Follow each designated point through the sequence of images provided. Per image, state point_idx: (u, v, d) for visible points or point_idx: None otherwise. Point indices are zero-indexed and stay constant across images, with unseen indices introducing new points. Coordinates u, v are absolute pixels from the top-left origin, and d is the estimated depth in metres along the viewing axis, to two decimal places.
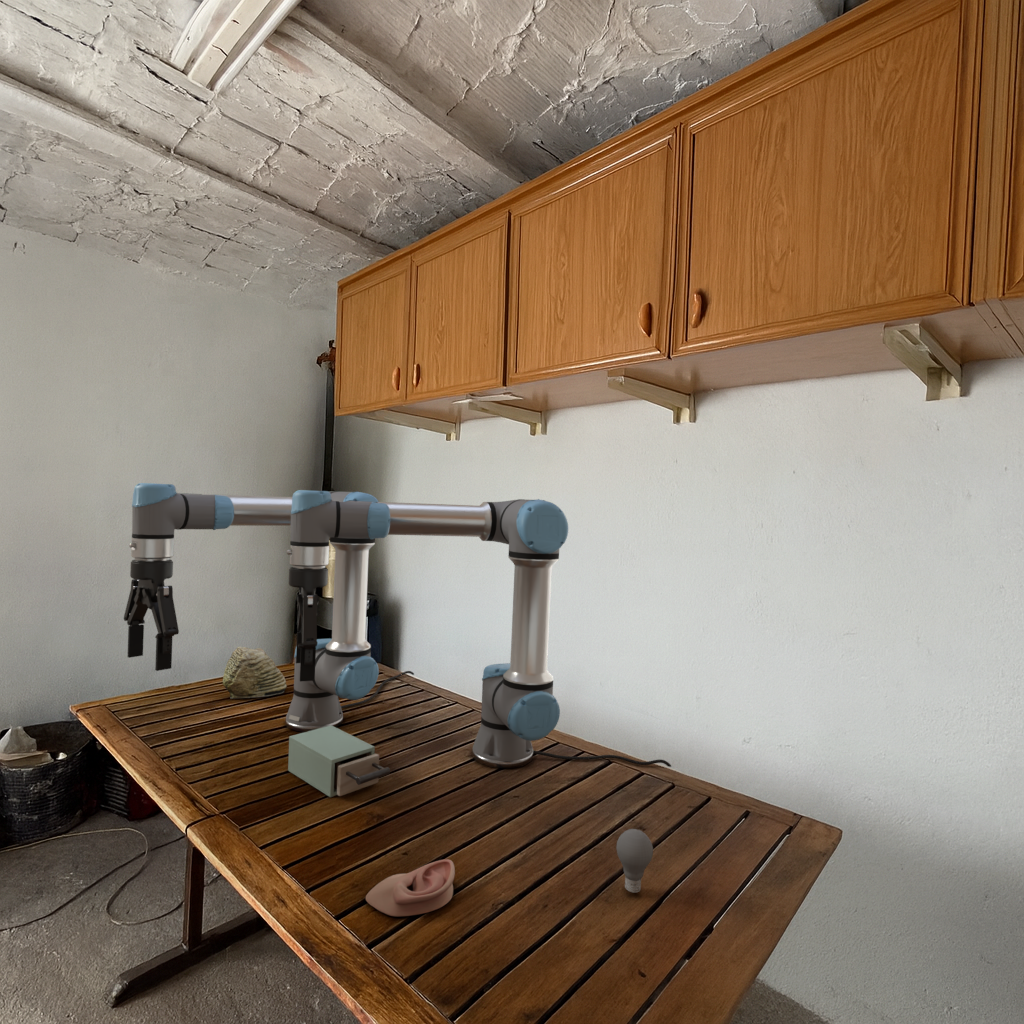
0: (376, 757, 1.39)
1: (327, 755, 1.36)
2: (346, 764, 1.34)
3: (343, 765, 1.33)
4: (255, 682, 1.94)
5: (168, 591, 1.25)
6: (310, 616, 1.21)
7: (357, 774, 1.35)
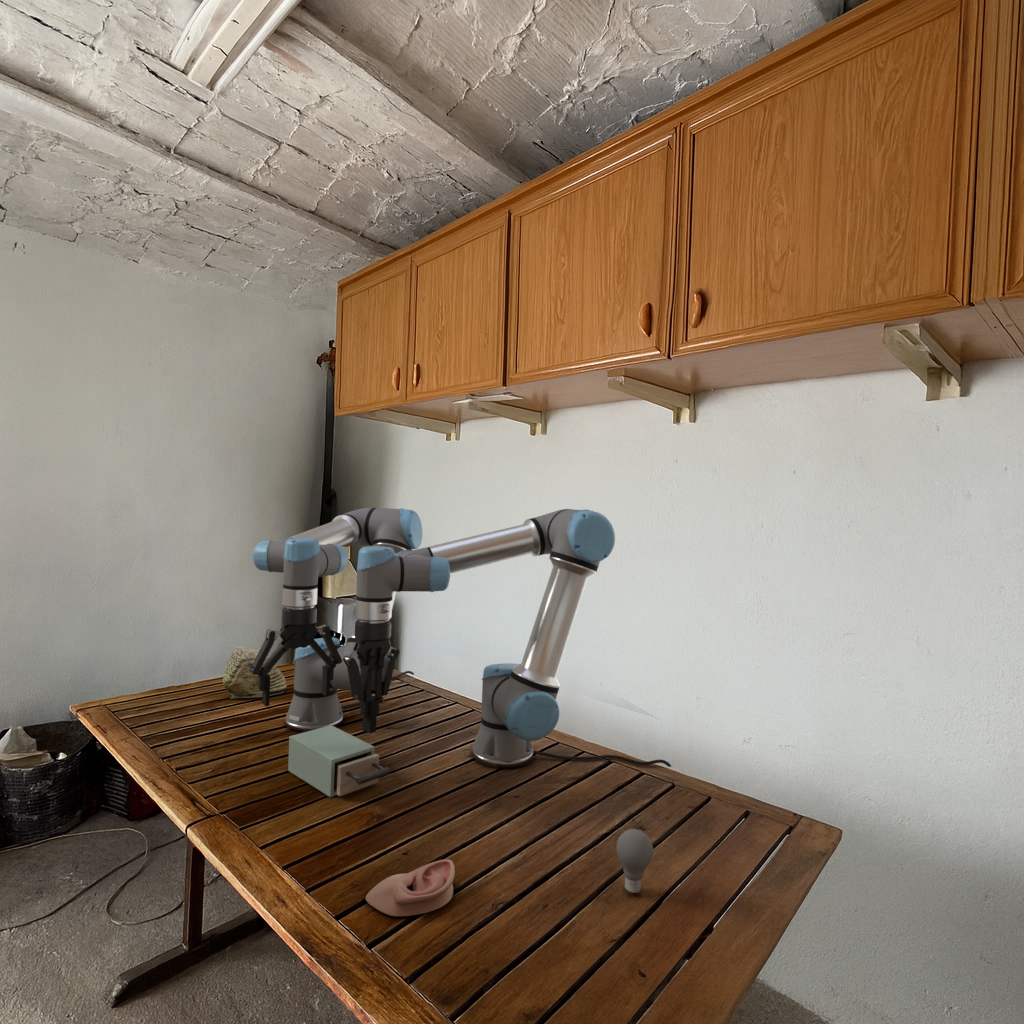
0: (376, 757, 1.39)
1: (327, 755, 1.36)
2: (346, 764, 1.34)
3: (343, 765, 1.33)
4: (255, 682, 1.94)
5: None
6: None
7: (357, 774, 1.35)
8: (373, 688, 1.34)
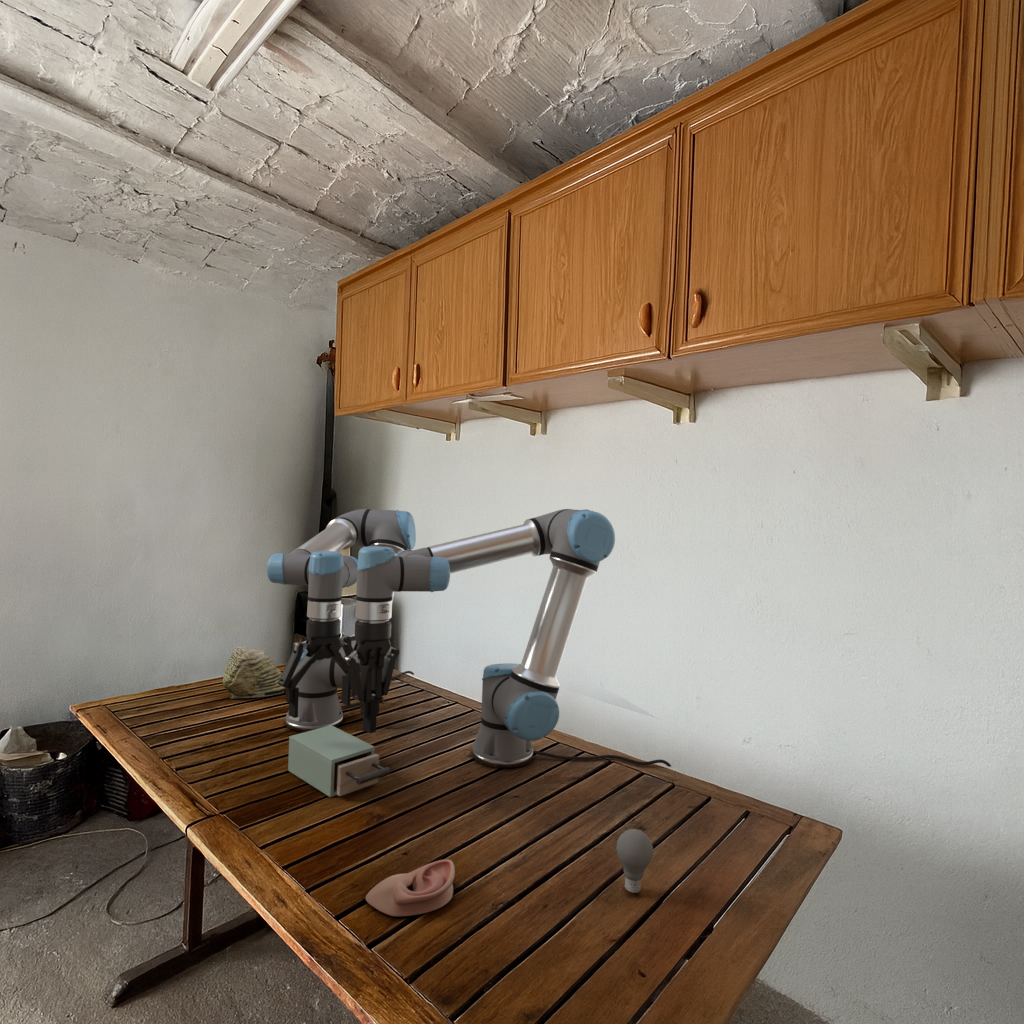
0: (376, 757, 1.39)
1: (327, 755, 1.36)
2: (346, 764, 1.34)
3: (343, 765, 1.33)
4: (255, 682, 1.94)
5: None
6: None
7: (357, 774, 1.35)
8: (373, 688, 1.34)
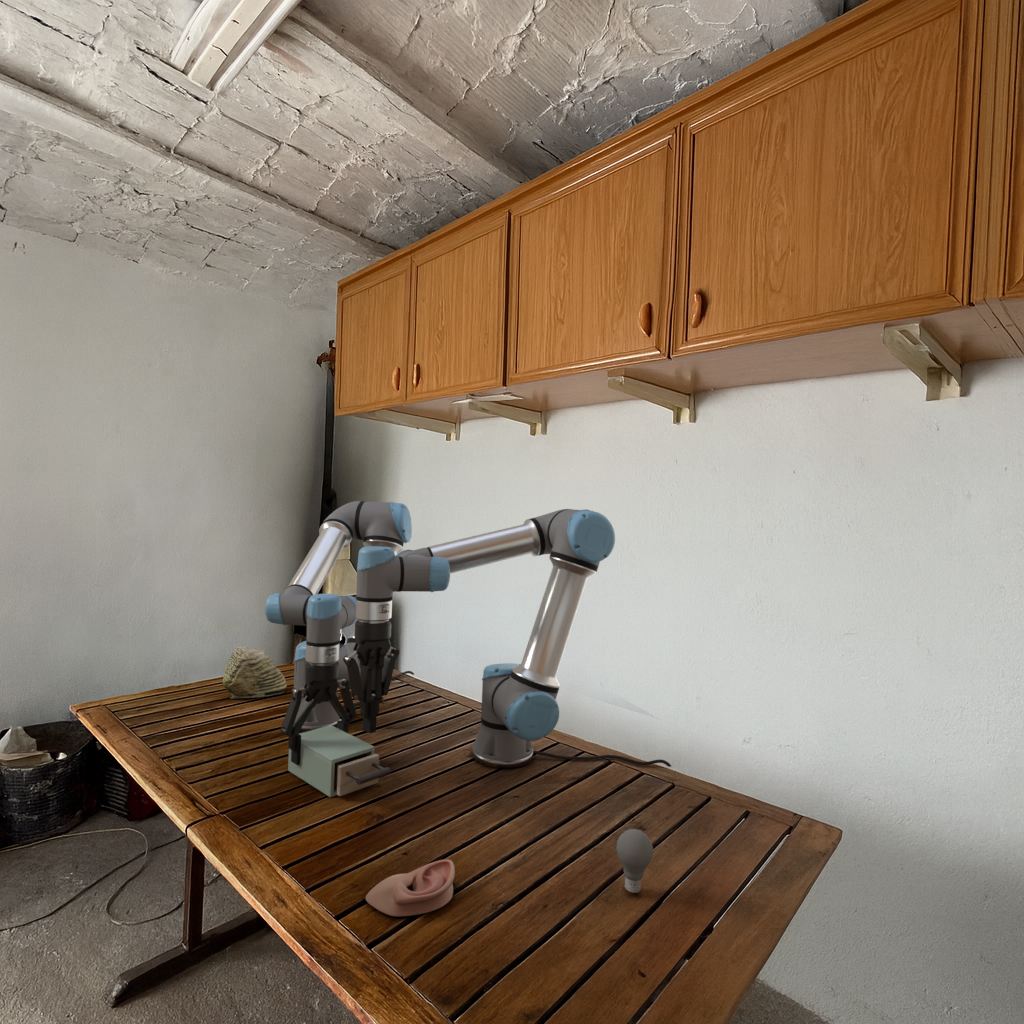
0: (376, 757, 1.39)
1: (327, 755, 1.36)
2: (346, 764, 1.34)
3: (343, 765, 1.33)
4: (255, 682, 1.94)
5: None
6: None
7: (357, 774, 1.35)
8: (373, 688, 1.34)
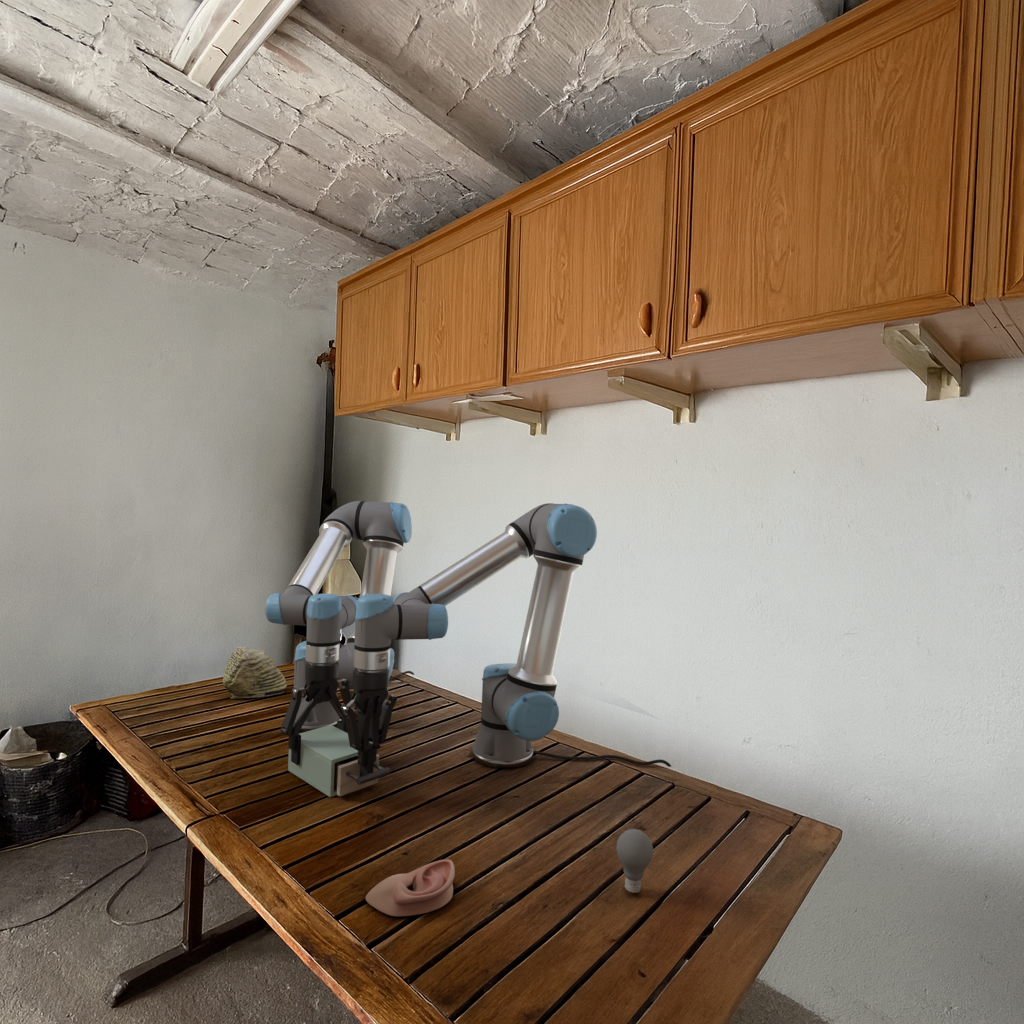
0: (376, 757, 1.39)
1: (327, 755, 1.36)
2: (346, 764, 1.34)
3: (343, 765, 1.33)
4: (255, 682, 1.94)
5: None
6: None
7: (357, 774, 1.35)
8: (370, 736, 1.34)
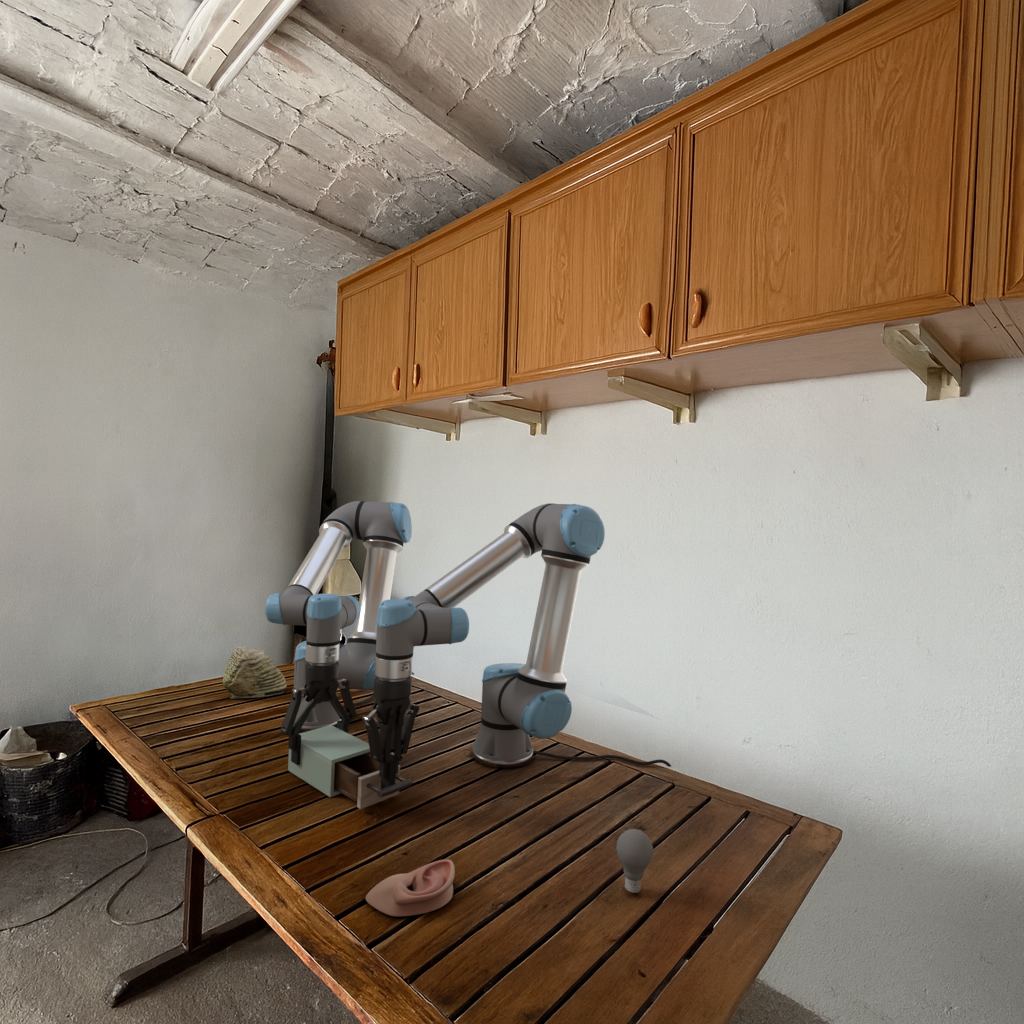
0: None
1: (327, 755, 1.36)
2: (367, 776, 1.29)
3: (364, 777, 1.28)
4: (255, 682, 1.94)
5: None
6: None
7: (378, 786, 1.30)
8: (392, 747, 1.29)
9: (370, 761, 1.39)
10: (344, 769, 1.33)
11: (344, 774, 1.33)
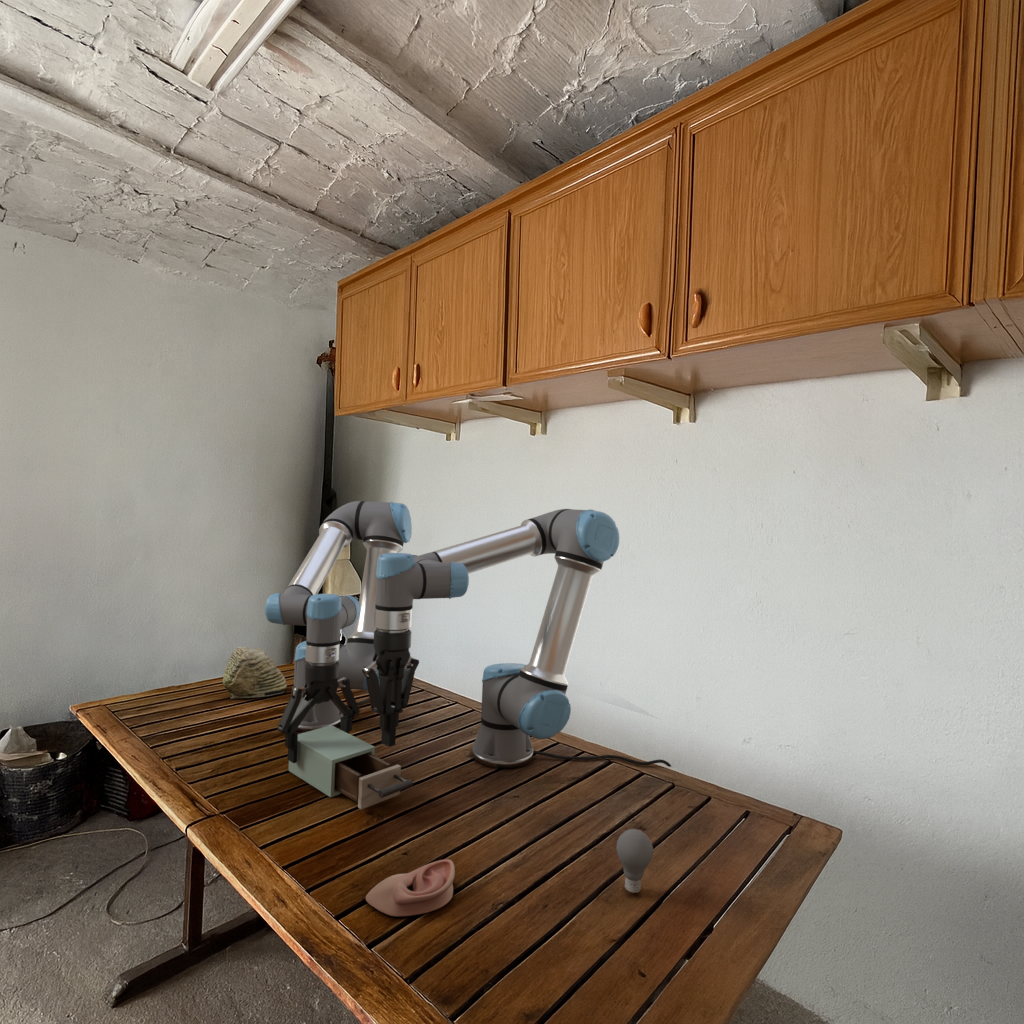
0: (398, 768, 1.34)
1: (328, 755, 1.36)
2: (367, 776, 1.29)
3: (364, 777, 1.28)
4: (255, 682, 1.94)
5: None
6: None
7: (378, 786, 1.30)
8: (392, 700, 1.30)
9: (371, 761, 1.39)
10: (345, 769, 1.32)
11: (345, 774, 1.32)
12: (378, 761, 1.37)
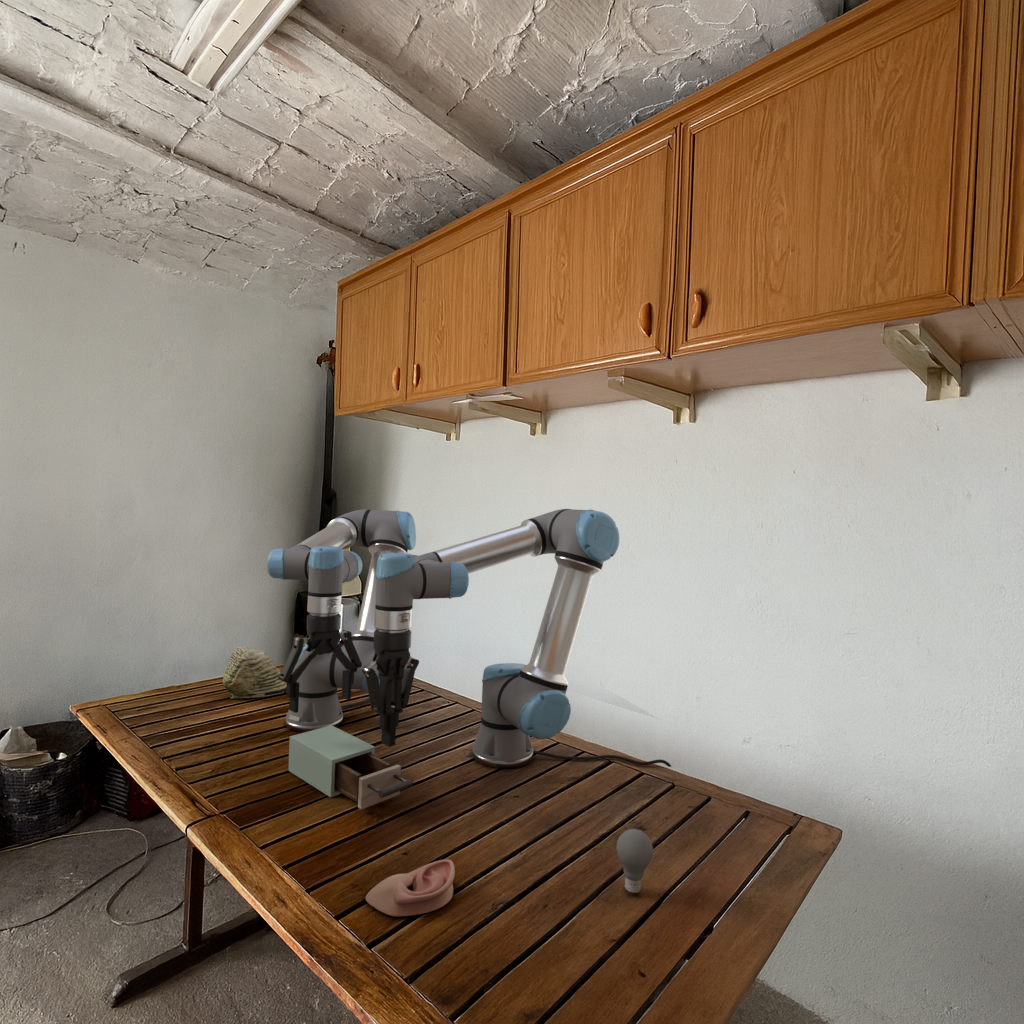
0: (398, 768, 1.34)
1: (328, 755, 1.36)
2: (367, 776, 1.29)
3: (364, 777, 1.28)
4: (255, 682, 1.94)
5: None
6: None
7: (378, 786, 1.30)
8: (392, 700, 1.30)
9: (371, 761, 1.39)
10: (345, 769, 1.32)
11: (345, 774, 1.32)
12: (378, 761, 1.37)
